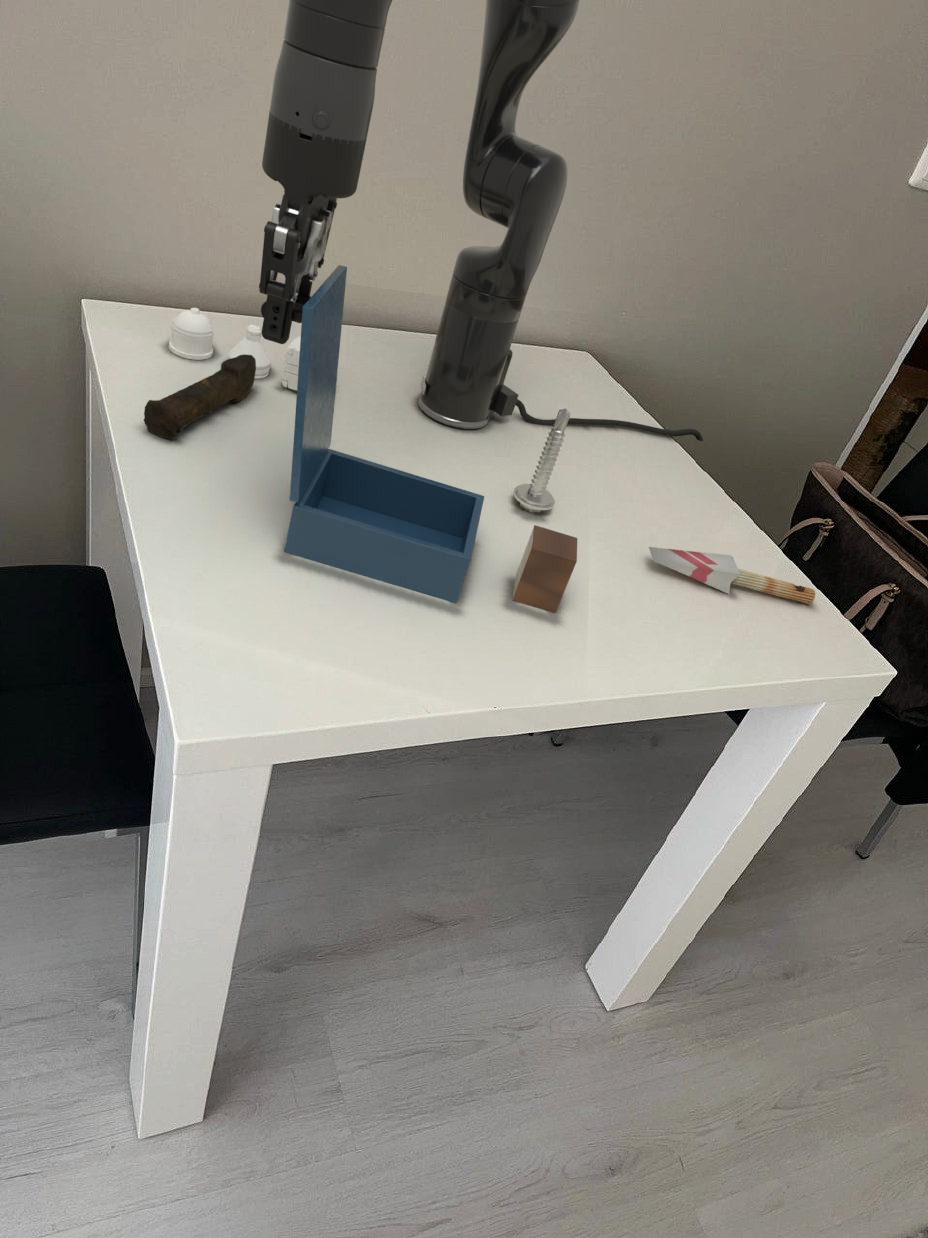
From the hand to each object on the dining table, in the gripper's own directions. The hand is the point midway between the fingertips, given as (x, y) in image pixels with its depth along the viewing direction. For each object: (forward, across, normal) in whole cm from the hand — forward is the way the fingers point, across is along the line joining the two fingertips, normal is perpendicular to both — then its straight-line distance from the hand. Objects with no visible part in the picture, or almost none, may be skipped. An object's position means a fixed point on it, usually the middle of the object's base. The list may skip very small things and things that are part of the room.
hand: (283, 328), depth 83 cm
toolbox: (+19, 0, +13) cm, 23 cm away
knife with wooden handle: (+19, -14, +51) cm, 56 cm away
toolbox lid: (+4, 0, +4) cm, 6 cm away
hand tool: (+19, -18, -11) cm, 28 cm away
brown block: (+19, +1, +29) cm, 34 cm away
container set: (+19, -31, -10) cm, 38 cm away
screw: (+19, -17, +27) cm, 37 cm away
